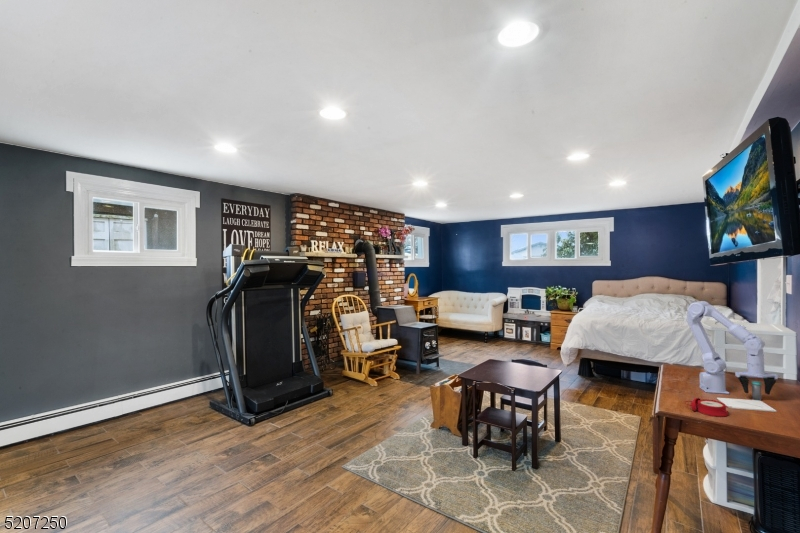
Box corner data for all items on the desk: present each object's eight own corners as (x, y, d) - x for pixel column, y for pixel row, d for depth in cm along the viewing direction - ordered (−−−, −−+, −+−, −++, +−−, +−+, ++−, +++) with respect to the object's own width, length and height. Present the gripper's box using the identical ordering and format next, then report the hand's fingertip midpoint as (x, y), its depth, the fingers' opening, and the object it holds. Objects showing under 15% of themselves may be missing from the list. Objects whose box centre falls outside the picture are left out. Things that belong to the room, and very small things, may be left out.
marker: (754, 400, 170) (753, 382, 170) (750, 397, 173) (749, 380, 173) (763, 400, 169) (762, 383, 169) (759, 398, 172) (758, 381, 172)
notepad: (729, 408, 162) (729, 406, 162) (716, 398, 174) (716, 397, 174) (776, 411, 157) (776, 410, 157) (760, 401, 168) (760, 400, 168)
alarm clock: (728, 411, 151) (684, 394, 162) (724, 425, 152) (680, 407, 163) (733, 404, 158) (690, 388, 169) (729, 418, 159) (687, 401, 170)
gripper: (740, 365, 170) (741, 395, 170) (781, 366, 165) (782, 397, 165) (732, 361, 176) (733, 390, 176) (771, 362, 171) (773, 392, 171)
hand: (756, 393), depth 171 cm, fingers open, 7 cm apart
